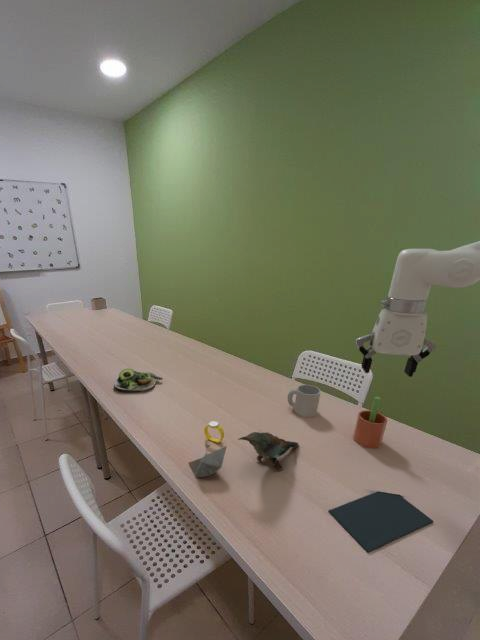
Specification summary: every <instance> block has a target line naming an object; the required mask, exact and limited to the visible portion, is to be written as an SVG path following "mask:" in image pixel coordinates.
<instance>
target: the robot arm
mask: <svg viewBox="0 0 480 640" xmlns="http://www.w3.org/2000/svg"><path fill="white" fill-rule="evenodd" d="M479 281H480V240H478V241H475V242H472V243H468V244H464V245H462V246H459V247H458V246H457V247H456V248H453V249H451V250H438V249H434V248H405V249H403V250H401V251H400V252H399V253H398V255H397V259H396V262H395V265H394V270H393V274H392V277H391V282H390V287H389V291H388V294H387V296H386V298H385V299H380V301H379V306H380V307H381V306H382V307H384V308H382V309H381V310H380V312H379V314H378V316H377V319H376V321H375V323H374V326H373V328H372V332H371V333H368V334H365V335H363V336H360V337H357V338H355V344H356V346H357V349H358V350H359V352H360V353H361V354H362V356H363V357H362V361H361V369H362V370H363V371H364V373H365V374H369V373H370V371H371V367H372V362H373V358H372V357H373V356H374V355H376V354H383V355H394V356H410V357H408V358H407V361H406V364H405V368H404V371H403V372H404V373H405V375H407V376H408V377H410V378H412V377H413V375H414V373H416V371H417V367H418V365H419V363H421V362H422V360H423V359H425V358H426V357H428V356H430V354H431V353H432V352H433V351H434V350H436V348H437V346H438V345H437V344H436V343H435V342H433V341H431V340H430V339H427V338H426V331H427V324H428V323H427V322H428V313H426V312H424V311H425V308H426V305H427V301H428V298H429V295H430V292H431V287H432V285H433V286H434V285H435V286H440V287H446V288H452V289H461V288H462V289H463V288H466V287H467V288H468V287H470V286H472V285H474V284H476V283H477V282H479ZM367 342H369V345H368V347H367V348H365V346H364V343H367ZM424 345H425V346H424ZM423 347H424V348H423ZM422 348H423V349H422Z"/></svg>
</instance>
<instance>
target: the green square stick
mask: <svg viewBox="0 0 480 640" xmlns="http://www.w3.org/2000/svg"><path fill="white" fill-rule="evenodd" d="M381 399H382V398H381V397H380V396H374V397H373V401H372V405H371V406H372V407H371V410H370V411H371V414H370V418H369V422H372V423H374V422H375V418H376V414H377V412H378V411H379V407H380V402H381Z"/></svg>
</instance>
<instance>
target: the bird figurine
mask: <svg viewBox="0 0 480 640" xmlns="http://www.w3.org/2000/svg"><path fill="white" fill-rule="evenodd" d="M238 440H243V441H247V442H249V444H250V445H251V446H253V449H254V450H255V451H256V453H257V454H258V455H257V457H256V460H257V461H258V462H262V459H263V458H268V459H269V460H270V461H271V463H272V464H271V465H272V466H273V468H275V469H276V471H277V472H281V471H282V470H284V467H283V466H282V464H281V462H280V461H279V459H278V458H279V457H281V456H283V455H285V454H286V453H287V452H288V450H289V449H291V448H292V449H295V448H297V447H299V446H300V445H299V443H298V442H296V441H288V440H285V439H283V438H280V437H279V436H276V435H273V434H272V433H270V432H259V431H254V432H250V433H249V434H247V435H246V436H242V437H239V438H237V441H238Z"/></svg>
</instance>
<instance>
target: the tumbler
mask: <svg viewBox="0 0 480 640" xmlns="http://www.w3.org/2000/svg"><path fill="white" fill-rule="evenodd" d="M370 414H371V410H369V409H368V410H367V409H366V410H360V411H358V414H357V418H356V423H355V427H354V430H353V435H352V438H353V441H354V442H355V443H356V444H358V445H359V446H362V447H364V448H368V449H379V447H381V445H382V442H383V439H384V434H385V431H386V428H387V424H388V418H387V417H386V416H385V415H384V414H383V413H380V412H378V411H377V414H376V418H375V422H374V423H372V422H369V418H370Z"/></svg>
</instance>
